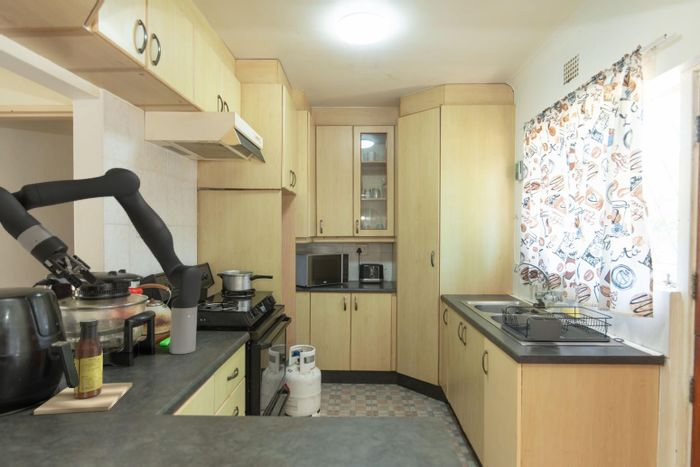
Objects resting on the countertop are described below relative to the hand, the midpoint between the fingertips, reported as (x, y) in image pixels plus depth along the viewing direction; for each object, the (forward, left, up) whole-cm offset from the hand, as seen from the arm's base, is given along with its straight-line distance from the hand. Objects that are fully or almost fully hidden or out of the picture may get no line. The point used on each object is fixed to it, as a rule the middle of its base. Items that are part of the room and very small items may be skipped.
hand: (88, 284), depth 105 cm
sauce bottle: (+9, +5, -29) cm, 30 cm away
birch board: (+9, +5, -29) cm, 31 cm away
